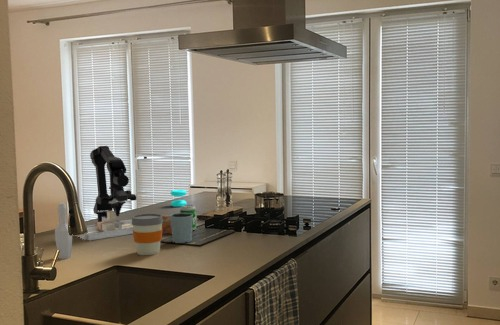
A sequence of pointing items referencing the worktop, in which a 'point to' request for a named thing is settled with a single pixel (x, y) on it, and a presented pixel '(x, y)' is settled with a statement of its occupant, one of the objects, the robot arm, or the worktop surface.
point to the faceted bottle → (63, 233)
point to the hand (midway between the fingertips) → (117, 216)
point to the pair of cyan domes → (177, 194)
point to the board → (122, 226)
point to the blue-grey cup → (181, 227)
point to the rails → (110, 232)
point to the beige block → (108, 226)
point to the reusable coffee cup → (147, 233)
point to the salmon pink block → (99, 224)
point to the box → (90, 230)
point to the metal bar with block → (112, 219)
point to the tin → (166, 225)
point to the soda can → (191, 210)
